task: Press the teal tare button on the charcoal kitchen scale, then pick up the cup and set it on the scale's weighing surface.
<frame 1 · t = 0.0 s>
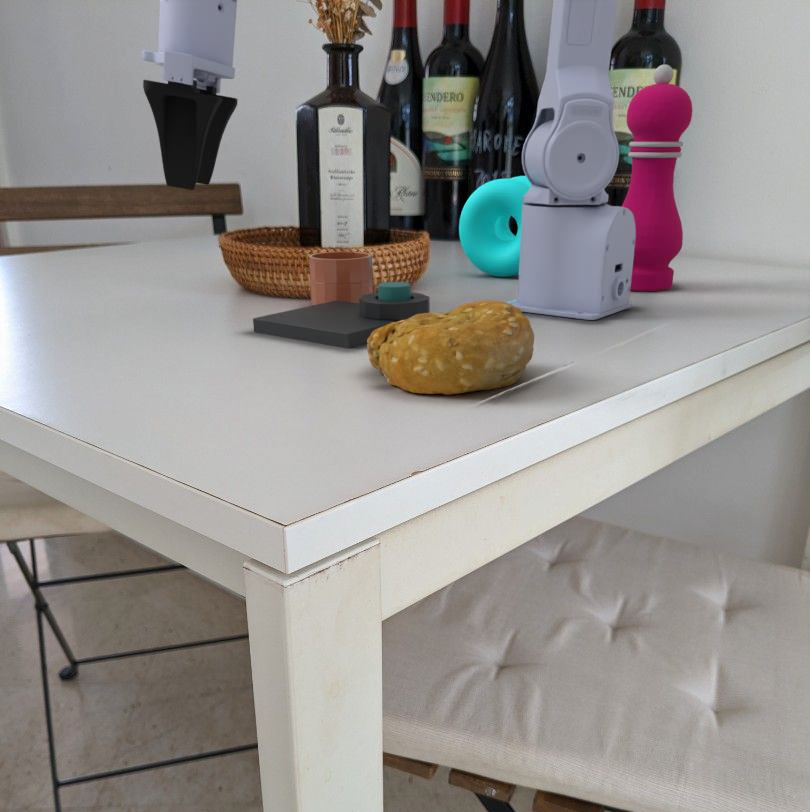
hand: (188, 185, 71), 11 cm above the table, tool pointing down, fingers open, 7 cm apart
donuts: (510, 274, 97), on the table
scale: (342, 330, 69), on the table
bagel: (447, 382, 55), on the table
pepper mill: (640, 288, 88), on the table
cup: (342, 306, 78), on the table
tare button: (394, 293, 68), point 3 cm above the table, slide at 0.2 cm
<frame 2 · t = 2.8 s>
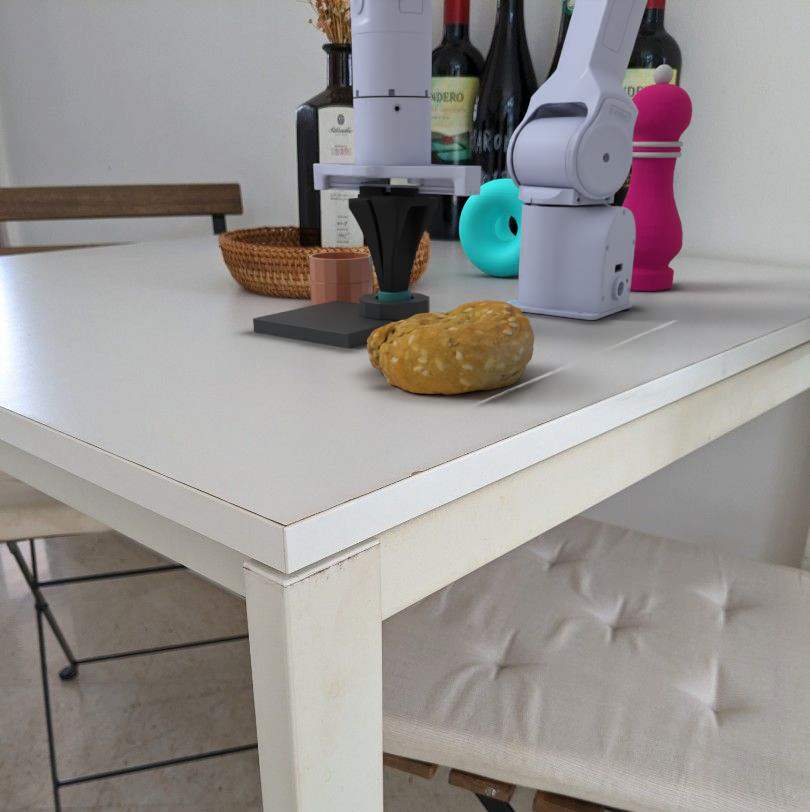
hand: (394, 290, 68), 3 cm above the table, tool pointing down, fingers closed, pressing on tare button
tare button: (394, 299, 68), point 2 cm above the table, slide at -0.3 cm, touching gripper
everything else where it was.
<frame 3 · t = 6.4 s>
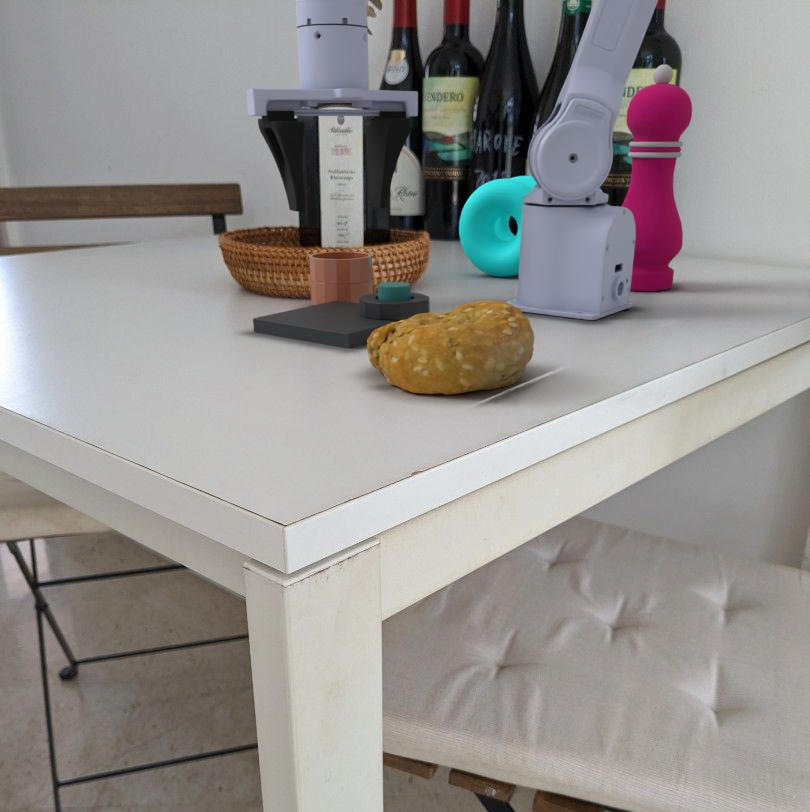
hand: (338, 209, 75), 8 cm above the table, tool pointing down, fingers open, 7 cm apart
tare button: (394, 293, 68), point 3 cm above the table, slide at 0.2 cm
everything else where it was.
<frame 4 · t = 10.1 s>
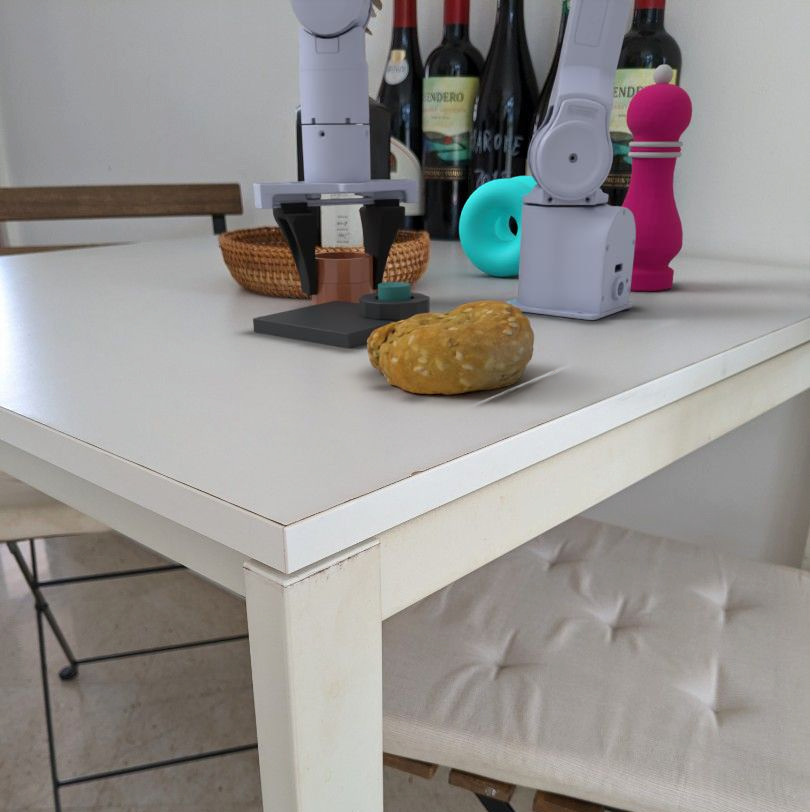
hand: (341, 290, 78), 1 cm above the table, tool pointing down, fingers closed on cup, 5 cm apart
cup: (342, 306, 79), on the table, touching gripper
everything else where it was.
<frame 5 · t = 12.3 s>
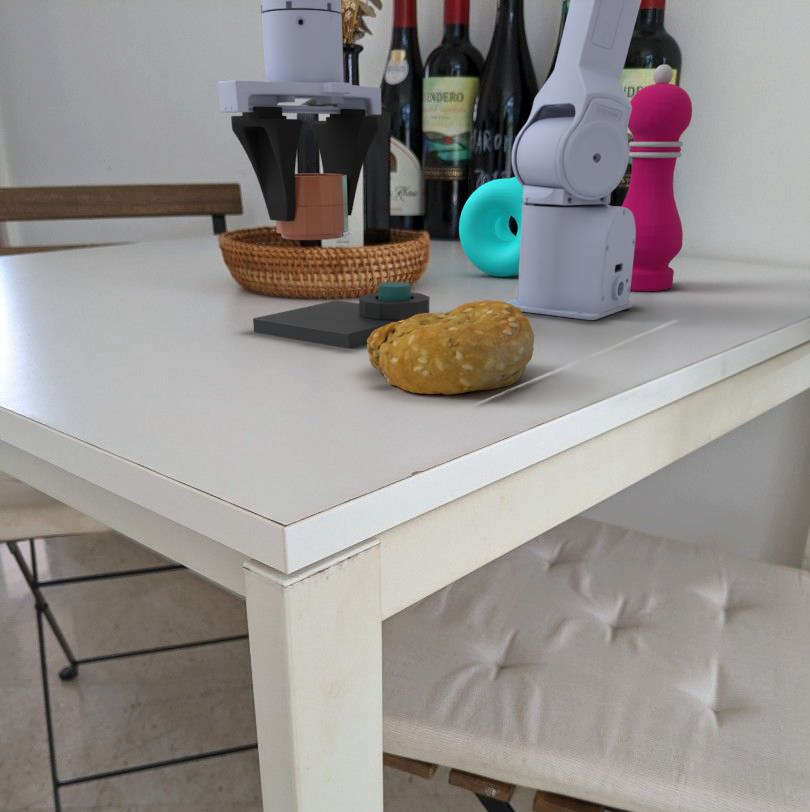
hand: (311, 217, 67), 8 cm above the table, tool pointing down, fingers closed on cup, 5 cm apart
cup: (312, 236, 68), point 7 cm above the table, touching gripper
everything else where it was.
when the fingers open (3 cm above the table, at t = 14.4 s): cup stays where it is, resting on scale.
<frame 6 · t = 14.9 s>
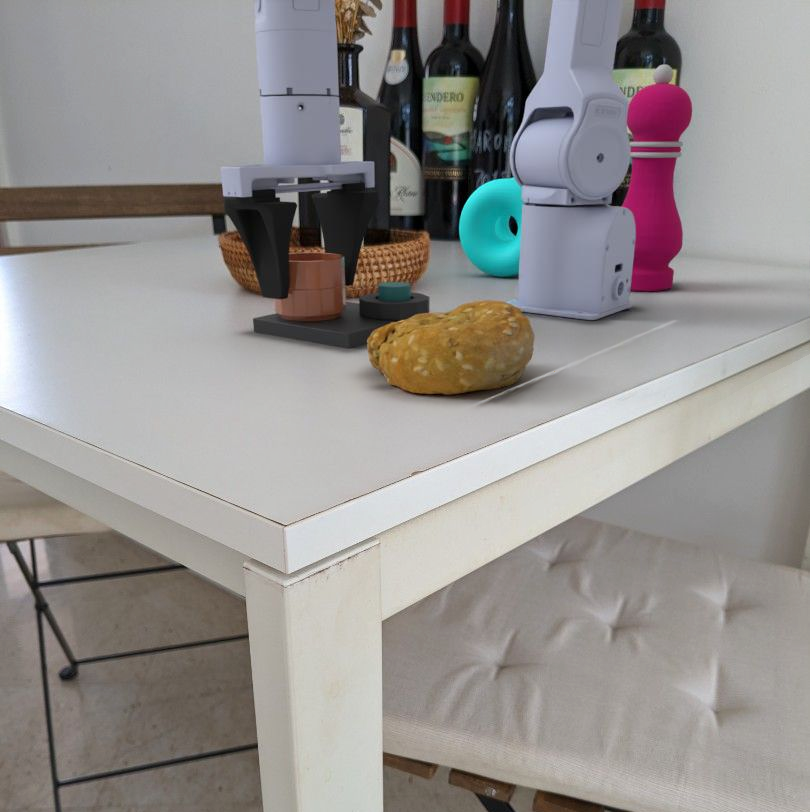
hand: (309, 290, 68), 3 cm above the table, tool pointing down, fingers open, 7 cm apart
cup: (310, 315, 68), point 1 cm above the table, touching scale
everything else where it was.
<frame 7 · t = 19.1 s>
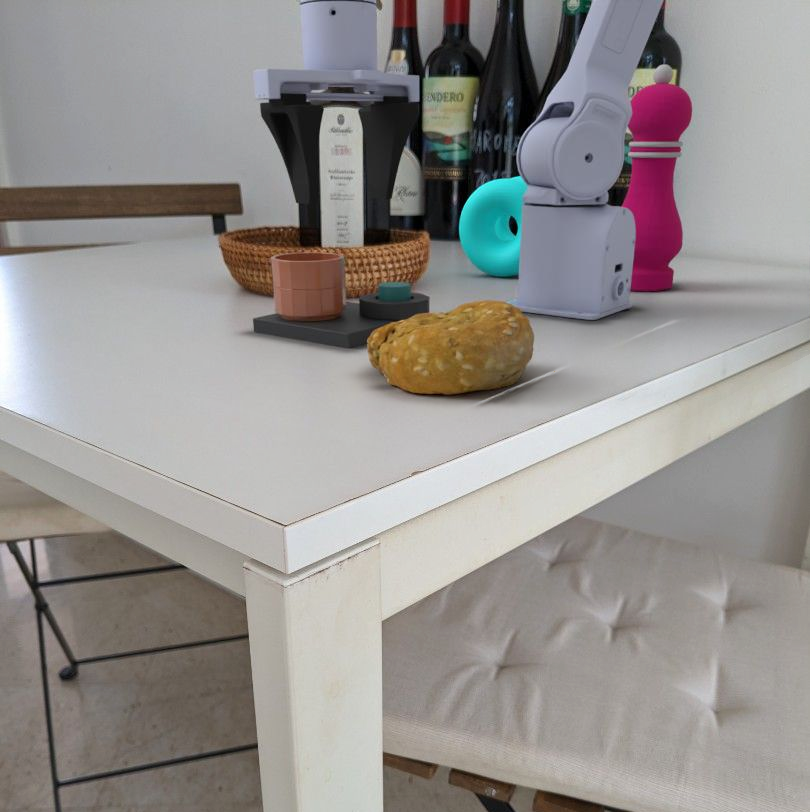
hand: (345, 201, 70), 9 cm above the table, tool pointing down, fingers open, 7 cm apart
nothing on the table moved.
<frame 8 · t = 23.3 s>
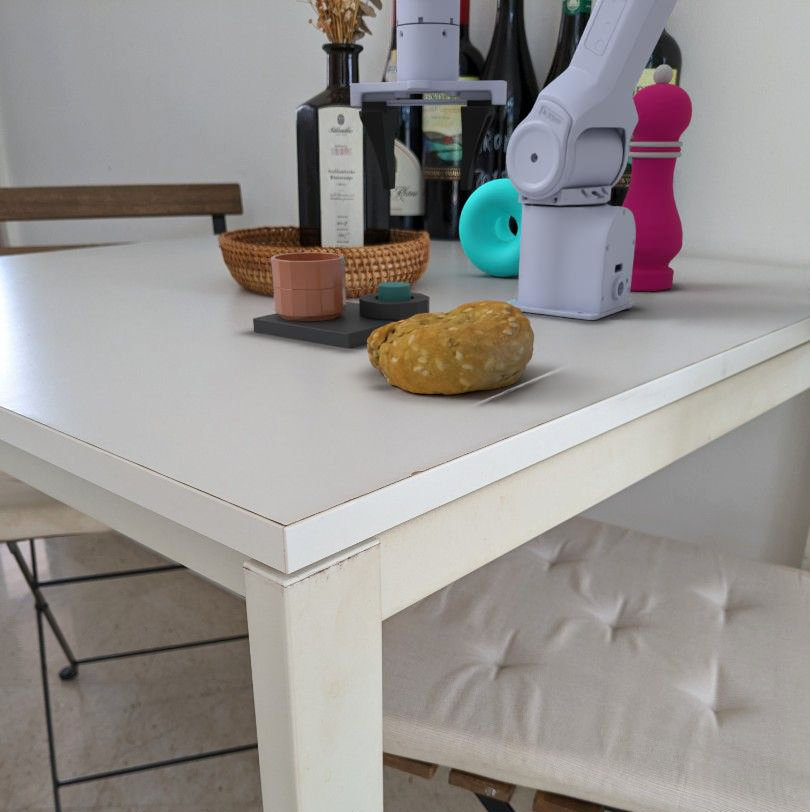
hand: (427, 189, 83), 9 cm above the table, tool pointing down, fingers open, 7 cm apart
nothing on the table moved.
at the end: tare button pushed in 0.7 cm at the most during the clip, back to 0.2 cm at the end; cup inside the target area on the scale (1.6 cm from its centre), point 1.2 cm above the scale's base; cup touching scale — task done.
